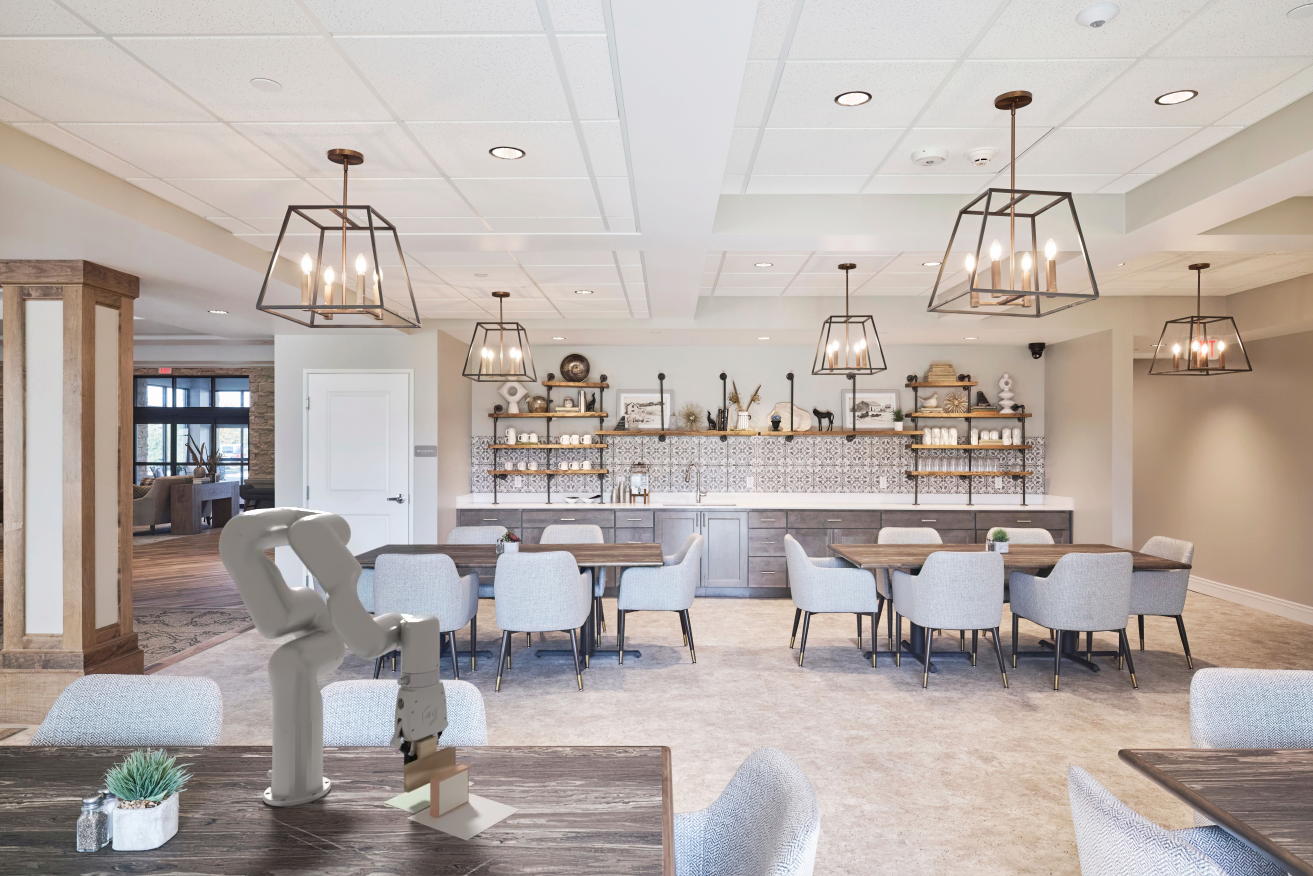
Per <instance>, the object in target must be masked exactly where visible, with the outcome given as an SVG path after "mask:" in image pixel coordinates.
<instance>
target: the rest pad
mask: <svg viewBox="0 0 1313 876" xmlns="http://www.w3.org/2000/svg"><path fill="white" fill-rule="evenodd" d="M474 784H475V782H472V781H469V787H471V786H473V785H474ZM383 803H384V804H386V805H389V806H391V807H395V808H397V809H401V810H403V811H405V812H407V813H411V814H413V815H414V814H416V813H418V812H420V811H423V810H425V809H427V808H429V807H430V783H429V784H426V785H424V786H422V787H420V788H418V789H416V790H413V791H411V792H409V793H407V792H403V793H401V794H399V795H397V796H395V797H392V798H390V799H387V800H386V801H383Z"/></svg>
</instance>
